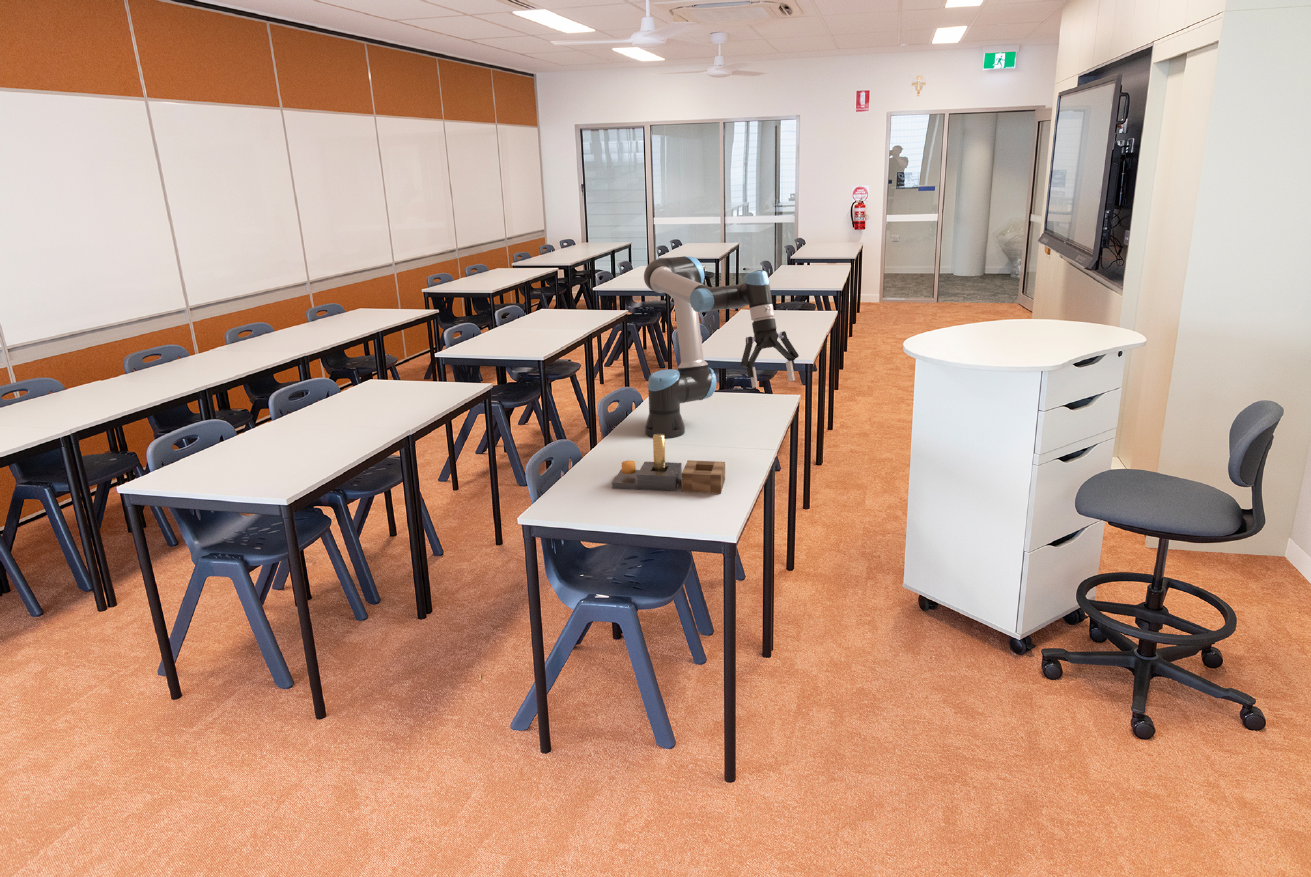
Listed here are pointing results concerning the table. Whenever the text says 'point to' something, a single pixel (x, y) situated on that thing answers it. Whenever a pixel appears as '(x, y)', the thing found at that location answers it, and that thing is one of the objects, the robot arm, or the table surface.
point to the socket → (650, 478)
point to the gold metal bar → (659, 452)
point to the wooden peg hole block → (703, 476)
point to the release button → (628, 467)
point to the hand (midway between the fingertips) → (773, 384)
